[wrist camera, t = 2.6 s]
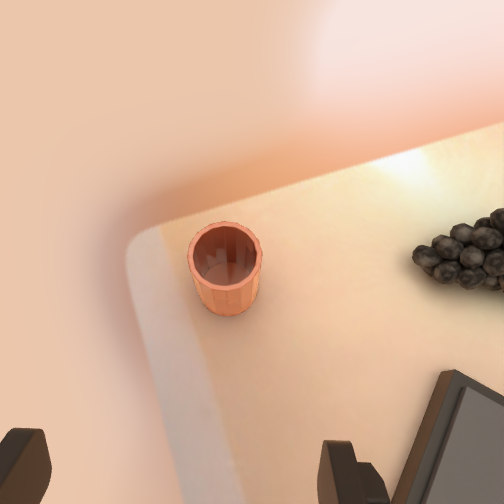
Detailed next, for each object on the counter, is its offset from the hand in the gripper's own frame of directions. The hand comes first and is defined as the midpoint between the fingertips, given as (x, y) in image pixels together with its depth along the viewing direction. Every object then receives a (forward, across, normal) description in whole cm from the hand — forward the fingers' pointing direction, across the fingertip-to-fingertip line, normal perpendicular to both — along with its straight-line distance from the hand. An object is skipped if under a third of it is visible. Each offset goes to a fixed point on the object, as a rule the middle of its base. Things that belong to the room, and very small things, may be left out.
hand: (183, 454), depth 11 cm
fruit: (+27, -24, +5) cm, 36 cm away
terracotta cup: (+24, 0, +8) cm, 25 cm away
